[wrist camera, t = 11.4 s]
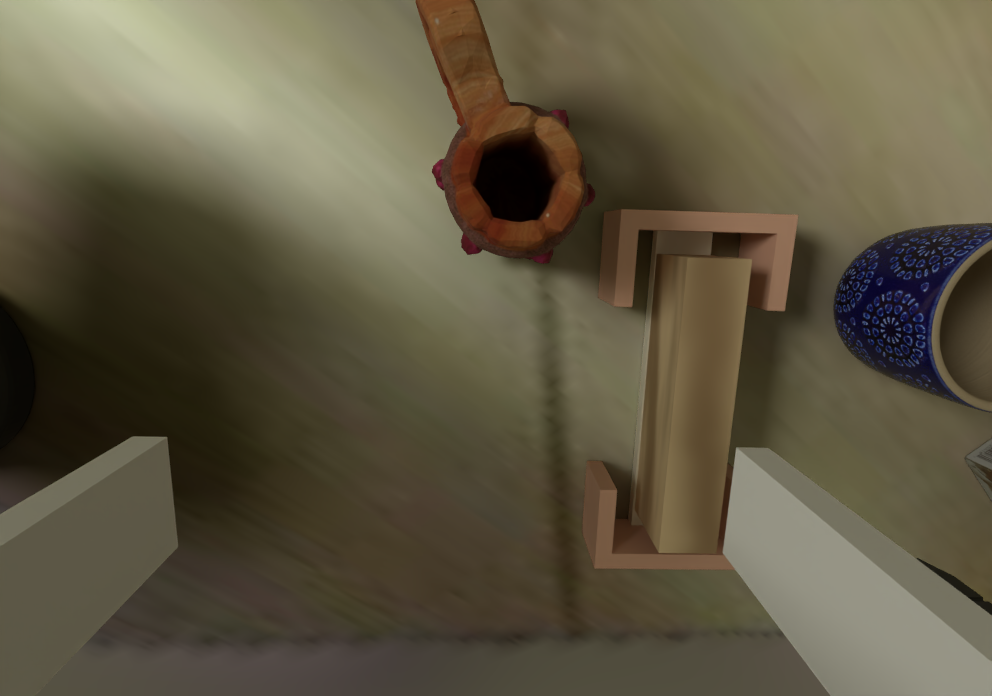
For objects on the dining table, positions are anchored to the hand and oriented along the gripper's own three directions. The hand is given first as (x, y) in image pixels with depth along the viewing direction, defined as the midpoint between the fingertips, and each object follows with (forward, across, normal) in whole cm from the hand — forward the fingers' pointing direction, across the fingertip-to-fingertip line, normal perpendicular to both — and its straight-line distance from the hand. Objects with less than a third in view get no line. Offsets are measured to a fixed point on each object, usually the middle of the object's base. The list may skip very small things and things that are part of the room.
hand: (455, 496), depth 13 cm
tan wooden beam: (+28, +15, -5) cm, 32 cm away
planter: (+29, +31, +2) cm, 42 cm away
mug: (+29, +1, +11) cm, 31 cm away
